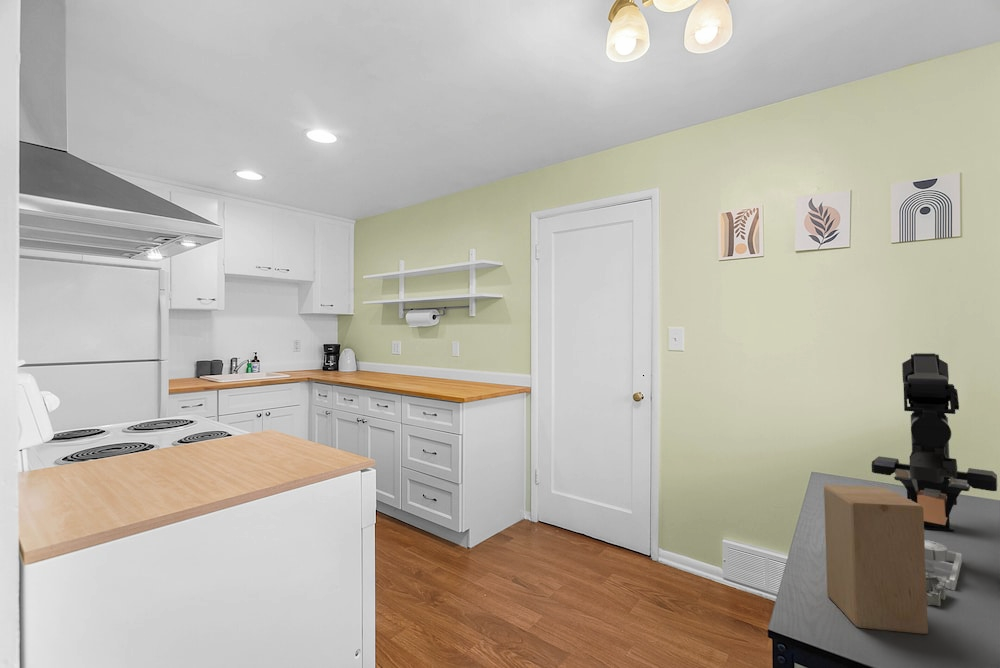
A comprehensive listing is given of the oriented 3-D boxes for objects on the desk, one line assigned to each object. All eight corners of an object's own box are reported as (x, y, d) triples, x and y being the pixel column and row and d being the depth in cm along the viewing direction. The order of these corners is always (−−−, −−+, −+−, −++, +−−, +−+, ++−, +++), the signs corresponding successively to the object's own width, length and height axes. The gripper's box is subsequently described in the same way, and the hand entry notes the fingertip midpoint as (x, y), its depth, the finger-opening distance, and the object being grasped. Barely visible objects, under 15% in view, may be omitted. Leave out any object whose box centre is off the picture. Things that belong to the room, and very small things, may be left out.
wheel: (913, 547, 94) (912, 536, 94) (948, 555, 90) (948, 544, 90) (909, 554, 90) (908, 544, 91) (945, 564, 87) (945, 552, 87)
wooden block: (929, 635, 72) (924, 505, 73) (856, 628, 74) (852, 502, 75) (889, 601, 82) (885, 486, 82) (826, 595, 84) (822, 483, 84)
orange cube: (921, 513, 99) (920, 486, 99) (947, 518, 96) (946, 490, 96) (918, 519, 96) (917, 491, 96) (944, 525, 93) (943, 495, 93)
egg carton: (862, 585, 88) (861, 563, 88) (878, 574, 92) (877, 553, 92) (937, 611, 79) (935, 586, 79) (951, 598, 83) (950, 574, 83)
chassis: (913, 550, 101) (912, 540, 101) (961, 562, 96) (961, 551, 96) (901, 575, 90) (900, 564, 91) (954, 590, 85) (954, 578, 85)
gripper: (864, 437, 98) (867, 512, 98) (993, 451, 84) (997, 539, 84) (875, 430, 105) (878, 500, 105) (995, 442, 92) (999, 522, 91)
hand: (932, 514), depth 96 cm, fingers closed on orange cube, 4 cm apart
